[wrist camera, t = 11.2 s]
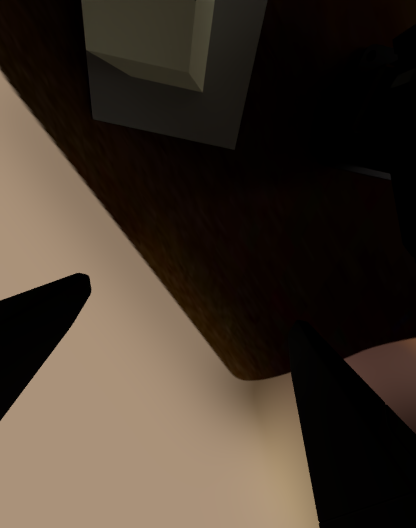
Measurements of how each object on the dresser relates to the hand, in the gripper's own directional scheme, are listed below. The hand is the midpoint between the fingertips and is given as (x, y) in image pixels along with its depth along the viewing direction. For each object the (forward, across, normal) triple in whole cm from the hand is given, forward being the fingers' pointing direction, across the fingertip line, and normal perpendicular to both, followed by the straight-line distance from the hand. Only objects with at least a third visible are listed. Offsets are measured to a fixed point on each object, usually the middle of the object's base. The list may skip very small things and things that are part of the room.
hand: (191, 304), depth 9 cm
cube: (+12, +5, -11) cm, 17 cm away
